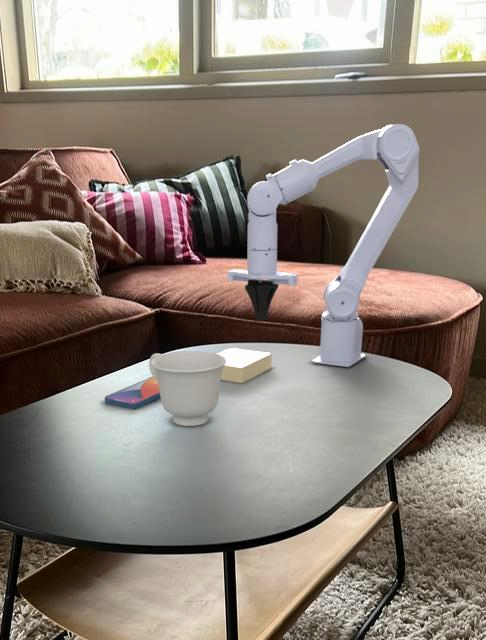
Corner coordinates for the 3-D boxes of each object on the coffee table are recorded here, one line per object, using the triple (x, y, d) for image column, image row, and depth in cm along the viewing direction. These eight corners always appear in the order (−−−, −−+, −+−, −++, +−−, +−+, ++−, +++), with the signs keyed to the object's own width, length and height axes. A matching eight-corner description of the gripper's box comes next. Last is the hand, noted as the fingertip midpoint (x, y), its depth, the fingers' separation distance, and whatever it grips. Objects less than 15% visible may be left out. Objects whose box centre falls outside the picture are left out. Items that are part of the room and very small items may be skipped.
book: (230, 362, 156) (230, 347, 155) (271, 368, 152) (271, 352, 151) (199, 377, 147) (198, 361, 146) (241, 383, 143) (241, 367, 141)
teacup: (179, 400, 134) (177, 344, 129) (242, 419, 124) (242, 358, 120) (126, 417, 126) (122, 358, 122) (190, 438, 117) (187, 374, 112)
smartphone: (102, 403, 134) (101, 397, 133) (155, 380, 145) (154, 375, 144) (134, 410, 130) (134, 404, 129) (186, 386, 141) (186, 381, 140)
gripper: (219, 249, 148) (220, 320, 154) (286, 253, 141) (284, 327, 147) (237, 245, 153) (237, 313, 159) (303, 249, 146) (300, 320, 152)
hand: (261, 319), depth 153 cm, fingers closed
